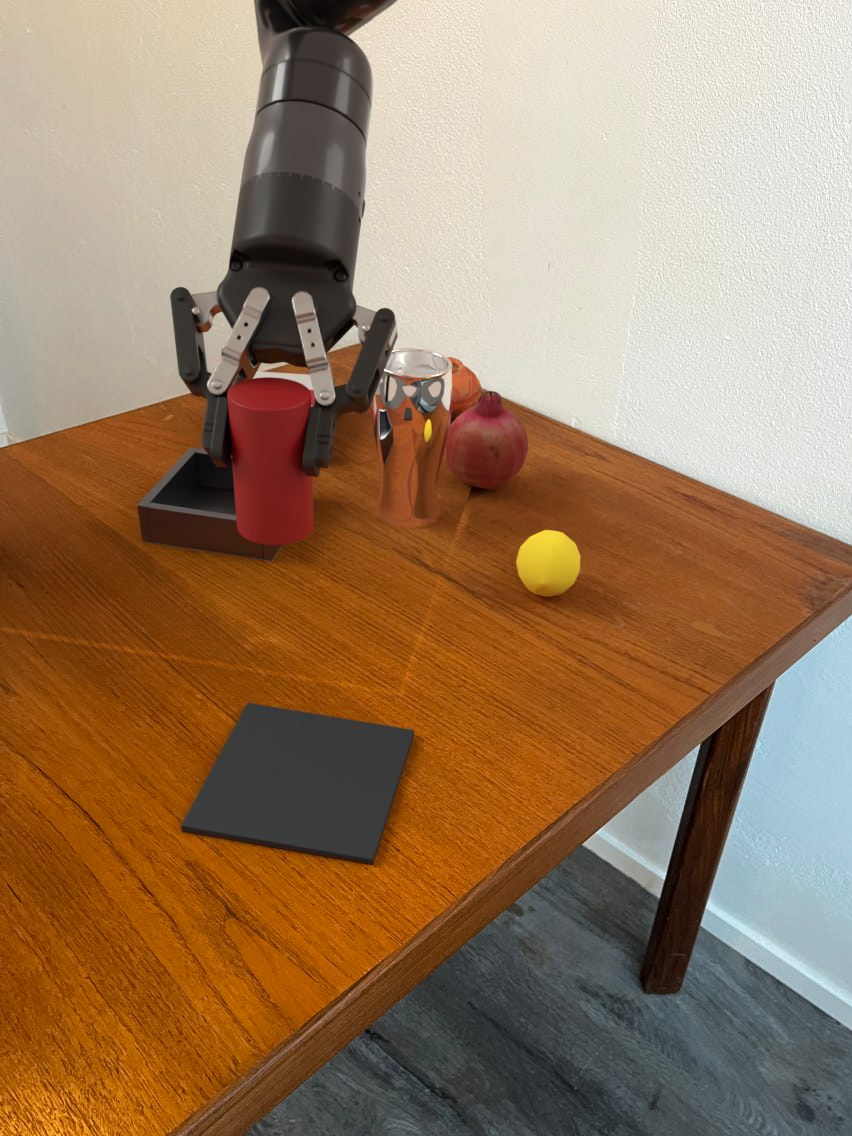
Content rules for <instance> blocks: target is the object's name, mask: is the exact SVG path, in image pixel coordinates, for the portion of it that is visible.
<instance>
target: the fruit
mask: <svg viewBox="0 0 852 1136" xmlns="http://www.w3.org/2000/svg"><path fill="white" fill-rule="evenodd" d="M528 452H529V438H528V434H527V430H526V428H525V426H524V423H523V422H522V420H521V418H520V417H519V416H518V415H517V414H515V412H513V411H511V410H510V409H507V408H505V407H504V405H503V400H502V396H501V394H500V393H499V392H497V391H494V390H489V391H485V392H482V394H481V395H479V398H478V399H477V402H476V405H475V406H472V408H470V409H468V410H466V411H465V412H463V413H460V414H459V415H458V416H457V417H456V418H455V419H454V420H453V422H451V423H450V428H449V433H448V439H447V443H446V447H445V454H446V455H445V456H446V462H447V464H448V467H449V470H450V472H451V473H452V474H453V475H454V476H455V477H456V478H457V479H458V480H460V481H461V482H462V483H464V484H466V485H469V486H472V487H474V488H479V489H488V490H489V489H497V488H501V487H502V486H503V485H505V484H506V483H508V482H509V481H511V480H512V479H514V478H515V477H517V475H518V474H519V472H521V470H522V468H523V466H524V464H525V462H526V458H527V455H528Z"/></svg>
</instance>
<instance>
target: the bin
mask: <svg viewBox="0 0 852 1136" xmlns="http://www.w3.org/2000/svg"><path fill="white" fill-rule="evenodd" d="M136 506H137V514H138V522H139V529H140V534H141V541H142V542H143V543H148V544H149V543H150V544H156V545H161V546H162V545H163V546H169V547H174V548H175V547H176V548H182V549H188V550H196V551H201V552H209V553H215V554H221V555H228V556H235V557H241V558H247V559H254V560H262V561H267V562H273V561H274V559H275V558H276V556H277V555H278V553H279V552H280V550H281V549H282V547H283V545H264V544H258V543H255V542H252V541H250V540H247V539H246V538H244V537H243V536H242V535H241V534H240V533H239V531H238V529H237V519H236V506H235V492H234V478H233V465H232V455H231V462H230V466H229V468H226V467H217V466H216V465H215V464H214V463H213V461H212V460H211V458H210V456H209V455H208V453H207V452H206V451H205V449H204V448H197V447H189V448H188V449H187V450H186V452H184V453H183V455H182V456H181V457H180V458H179V459H178V460H177V461H176V462H175V463H174V465H172V466H171V468H169V470H168V471H167V472H166V473H165V474H164V475H163V477H161V479H160V480H159V481H158V482H157V483H156V484H155V485H154V486H153V488H151V489H150V491H149V492H148V493H147V494H146V495H145V496H144V497H143V498H142V499H141V500H140V501H139V502H138V504H137V505H136Z"/></svg>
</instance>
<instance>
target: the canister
mask: <svg viewBox="0 0 852 1136" xmlns="http://www.w3.org/2000/svg"><path fill="white" fill-rule="evenodd" d="M227 397H228V410H229V424H230V438H231V451H232V465H233V478H234V492H235V506H236V519H237V529H238V531H239V533H240V534H241V535H242V536H243V537H244V538H246V539H247V540H250V541H252V542H255V543H258V544H264V545H282V546H285V545H290V544H294V543H297V542H299V541H302V540H304V539H306V538H307V537H308V536H310V535H311V533H312V531H313V530H314V526H315V522H314V517H315V516H314V477H313V476H306V474H305V472H304V470H303V466H302V462H303V453H304V445H305V438H306V430H307V422H308V415H309V408H310V406H311V393H310V391H309V389H308V388H307V387H306V386H304V385H303V384H301V383H299V382H296V381H293V380H289V379H283V378H273V377H263V378H253V379H248V380H244V381H241V382H238V383H236V384H234V385H233V386H232V387H231V388H230V389H229V390H228V393H227Z"/></svg>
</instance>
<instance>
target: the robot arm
mask: <svg viewBox="0 0 852 1136" xmlns="http://www.w3.org/2000/svg"><path fill="white" fill-rule="evenodd" d="M398 1H399V0H253V6H254V14H255V23H256V29H257V30H256V32H257V33H256V34H257V42H258V43H257V44H258V49H259V54H260V61H261V65H262V66H261V67H262V70H261V74H260V79H259V85H258V93H257V98H256V99H257V100H256V106H255V113H254V120H253V126H252V130H251V134H250V136H249V140H248V143H247V146H246V149H245V153H244V158H243V166H242V170H241V171H242V172H241V179H240V186H239V193H238V199H237V205H236V214H235V219H234V226H233V233H232V241H231V246H230V247H231V248H230V255H229V261H228V269H227V272H226V275H225V277H224V278H223V279H222V281H221V282H220V283H219V284H218V286H217V289H216V290H213V291H207V292H200V293H193V294H191V292H190V290H189V289H187V288H186V287H183V286H178V287H176V288H174V289H172V290H171V292H170V295H169V299H170V307H171V316H172V317H171V319H172V325H173V326H172V327H173V335H174V345H175V353H176V362H177V371H178V376H179V377H180V379H181V380H182V382H183V383H184V384H185V386H186V388H187V389H188V390H189V392H190V393H191V394H192V396H194V397H201V398H203V399H205V400H206V408H205V414H204V419H203V420H204V422H203V426H202V427H203V428H202V434H201V443H202V447H203V448H202V449H205V451H206V452H207V453H208V455H209V456H210V458H211V460H212V461H213V463H214V464H215V465H216V466H217V467H226V468H229V466H230V462H231V455H232V451H231V438H230V424H229V410H228V397H227V393H228V390H229V389H230V388H231V387H232V386H233V385H234V384H236V383H238V382H241V381H244V380H248V379H253V378H254V376H255V374H256V372H257V371H258V370H259V369H260V367H261V365H262V364H266V365H273V364H281V363H284V364H285V363H286V364H288V365H290V366H294V367H297V368H307V370H308V375H310V378H311V383H312V387H313V391H314V395H315V403H314V407H313V406H310V408H309V415H308V422H307V430H306V438H305V445H304V453H303V462H302V466H303V470H304V472H305V474H306V476H313V478H319V477H320V473H321V469H328V468H329V466H330V465H331V463H332V461H333V455H334V453H333V451H334V445H335V437H336V429H337V422H338V421H339V418H341V417H342V416H343V415H346V414H349V413H353V412H355V413H357V414H364V413H366V412H367V411H369V409H370V408H371V406H372V400H373V398H374V395H375V393H376V390H377V388H378V385H379V383H380V380H381V378H382V375H383V373H384V370H385V367H386V365H387V362H388V360H389V357H390V355H391V352H392V350H393V349H394V347H395V345H396V342H397V340H398V336H399V334H398V326H397V325H398V324H397V320H396V315H395V313H394V311H393V310H392V309H391V308H388V307H382V308H380V309H378V310H377V311H375V310H372V309H370V308H367V307H364V306H361V305H358V304H357V300H356V297H355V296H354V293H353V292H354V291H353V289H354V283H355V282H354V281H355V273H356V267H357V266H356V265H357V264H356V263H357V258H358V250H359V243H360V242H359V241H360V233H361V226H362V219H363V218H364V214H365V209H366V200H365V196H366V188H367V187H366V184H367V162H366V158H367V147H368V146H367V145H368V138H369V131H370V122H371V115H372V108H373V98H374V97H373V96H374V77H373V71H372V67H371V64H370V61H369V59H368V56H367V55H366V53H365V52H364V50H363V49H362V48H361V46H360V45H359V44H358V43H356V41H354V40H353V39H352V38H351V37H350V36H351V35H352V34H354V33H356V32H357V31H358V30H360V29H361V28H363V27H364V26H365V25H367V24H368V23H370V22H371V21H373V20H374V19H375V18H376V17H378V16H380V15H381V14H383V13H384V12H385V11H387V10H388V9H390V8H391V7H392V6H394V5H395V4H396V3H397V2H398ZM220 313H222V315H223V316H224V318H225V319H226V321H227V323H228V325H229V326H230V328H231V330H230V332H229V334H228V336H227V338H226V339H225V341H224V343H223V345H222V348H221V351H220V352H221V355H220V358H219V360H218V362H217V363H216V365H215V367H214V369H213V371H212V372H210V371H208V364H207V355H206V347H205V337H204V333H208V332H209V331H210V329H211V328H212V327H213V321H214V318H215V316H216V315H217V314H220ZM354 326H355V327H356V328H357V337H358V340H359V344H360V346H361V349H360V350H359V353H358V356H357V358H356V361H355V363H354V366H353V368H352V371H351V373H350V376H349V379H348V381H347V383H344V384H340V385H337V386H335V385H336V384H335V379H334V380H333V378H334V376H333V372H332V368H331V364H330V358H329V355H328V353H329V352H330V351H331V350H332V349H333V348H334V347H335V346H336V345H337V343H338V342H339V341H340V340H341V339H343V337H344V336H346V334H347V333H348V332H349V331H350V330H351V329H352V328H353V327H354Z"/></svg>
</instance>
